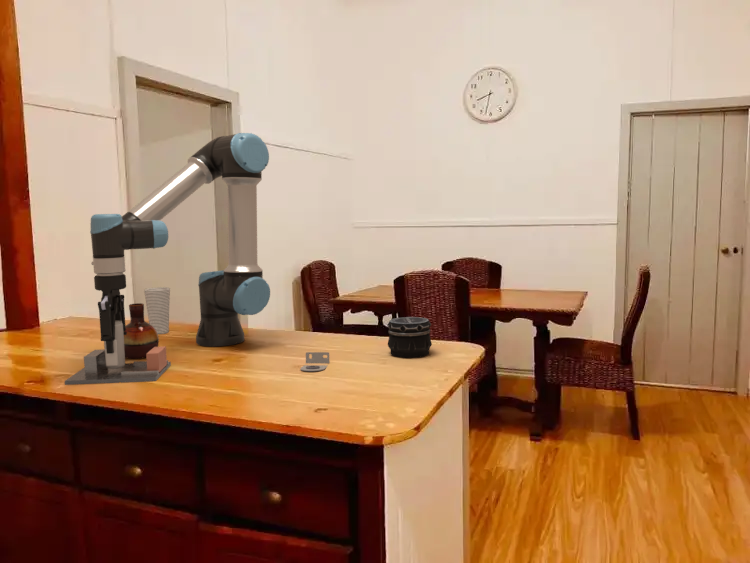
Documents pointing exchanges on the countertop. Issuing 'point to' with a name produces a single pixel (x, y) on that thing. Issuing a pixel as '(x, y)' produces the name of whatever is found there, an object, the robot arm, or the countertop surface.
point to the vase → (139, 334)
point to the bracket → (315, 361)
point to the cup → (158, 308)
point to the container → (409, 337)
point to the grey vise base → (112, 371)
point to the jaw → (156, 358)
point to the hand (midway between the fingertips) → (115, 362)
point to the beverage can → (118, 345)
